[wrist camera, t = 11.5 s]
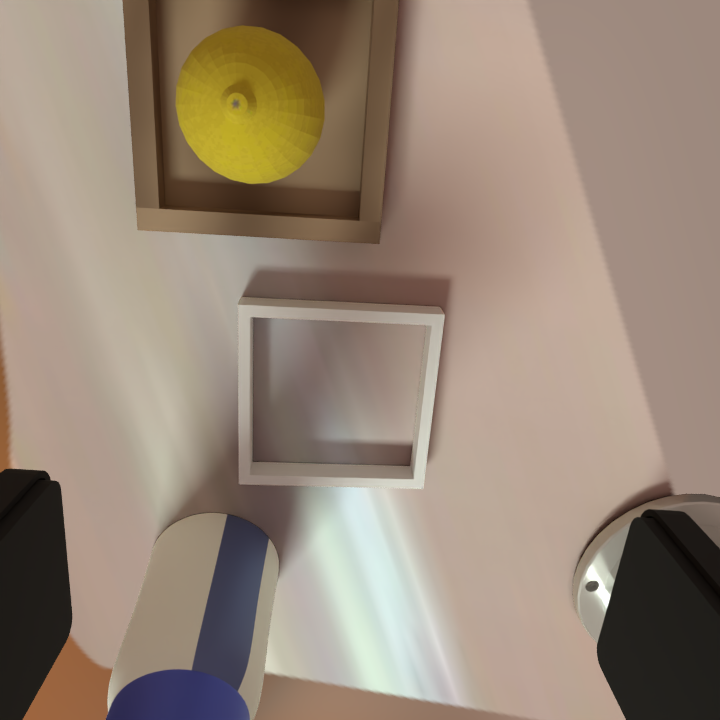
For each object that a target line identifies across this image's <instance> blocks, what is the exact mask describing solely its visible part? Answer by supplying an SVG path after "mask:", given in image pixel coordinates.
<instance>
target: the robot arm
mask: <svg viewBox="0 0 720 720" xmlns="http://www.w3.org/2000/svg"><path fill="white" fill-rule="evenodd" d="M572 595H573V601H574V607H575V610H576V612H577V614H578V616H579V618H580V621H581V623H582V625H583V626H584V628H585V629H586V631H587V633H588V634H589V636H590V637H591V638H592V639H593V640H595V641H596V642H597V656H598V661H599V664H600V667H601V669H602V671H603V673H604V675H605V678H606V680H607V682H608V684H609V686H610V688H611V690H612V692H613V694H614V696H615V698H616V700H617V702H618V704H619V706H620V708H621V710H622V712H623V714H624V716H625V718H626V720H720V497H715V496H711V495H706V494H682V495H675V496H668V497H664V498H660V499H657V500H654V501H650V502H647V503H645V504H643V505H641V506H639V507H636V508H634V509H632V510H630V511H628V512H627V513H625V514H624V515H622V516H621V517H619V518H618V519H616V520H615V521H613V522H612V523H611V524H609V525H608V526H607V527H606V528H605V529H604V530H603V531H602V532H601V533H599V534H598V535H597V537H596V538H595V539H594V540H593V542H592V543H591V544H590V545H589V547H588V548H587V549H586V551H585V553H584V554H583V556H582V558H581V560H580V562H579V564H578V566H577V570H576V573H575V576H574V579H573V593H572ZM71 625H72V606H71V595H70V584H69V573H68V562H67V551H66V539H65V528H64V517H63V506H62V495H61V487H60V484H59V482H57V481H51V480H50V476H49V475H48V473H47V472H45V471H39V470H23V469H5V470H4V471H2V472H1V473H0V720H22V719H23V718H24V716H25V714H26V712H27V711H28V709H29V707H30V705H31V703H32V701H33V700H34V698H35V696H36V694H37V692H38V691H39V689H40V687H41V686H42V684H43V682H44V680H45V678H46V676H47V675H48V673H49V671H50V669H51V668H52V666H53V664H54V662H55V660H56V659H57V657H58V655H59V653H60V652H61V650H62V648H63V646H64V644H65V643H66V640H67V638H68V636H69V633H70V629H71Z"/></svg>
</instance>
